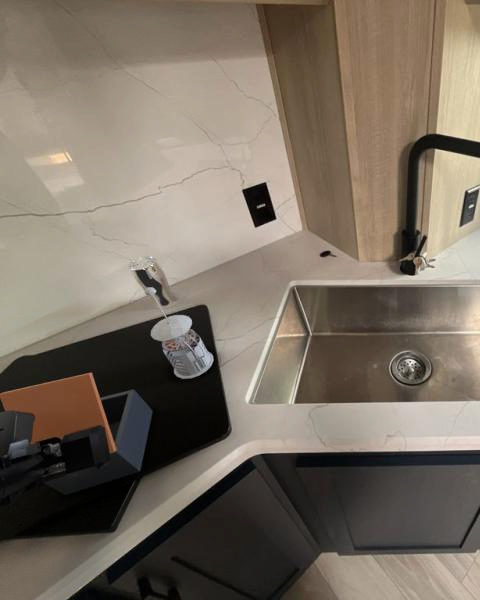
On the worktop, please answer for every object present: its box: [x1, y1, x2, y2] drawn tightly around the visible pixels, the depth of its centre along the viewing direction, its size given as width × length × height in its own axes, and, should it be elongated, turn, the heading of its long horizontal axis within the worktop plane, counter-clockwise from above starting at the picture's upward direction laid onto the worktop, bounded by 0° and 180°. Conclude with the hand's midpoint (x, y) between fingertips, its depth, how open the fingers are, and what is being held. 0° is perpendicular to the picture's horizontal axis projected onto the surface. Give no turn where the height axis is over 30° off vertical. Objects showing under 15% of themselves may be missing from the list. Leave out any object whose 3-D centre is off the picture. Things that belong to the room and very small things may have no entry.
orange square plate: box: [0, 372, 116, 453], centre depth 53 cm, size 14×12×1 cm
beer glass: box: [127, 256, 178, 310], centre depth 93 cm, size 7×7×15 cm
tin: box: [43, 389, 154, 496], centre depth 62 cm, size 14×12×9 cm
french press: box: [144, 287, 214, 380], centre depth 73 cm, size 10×12×25 cm
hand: (66, 447), depth 53 cm, fingers closed
